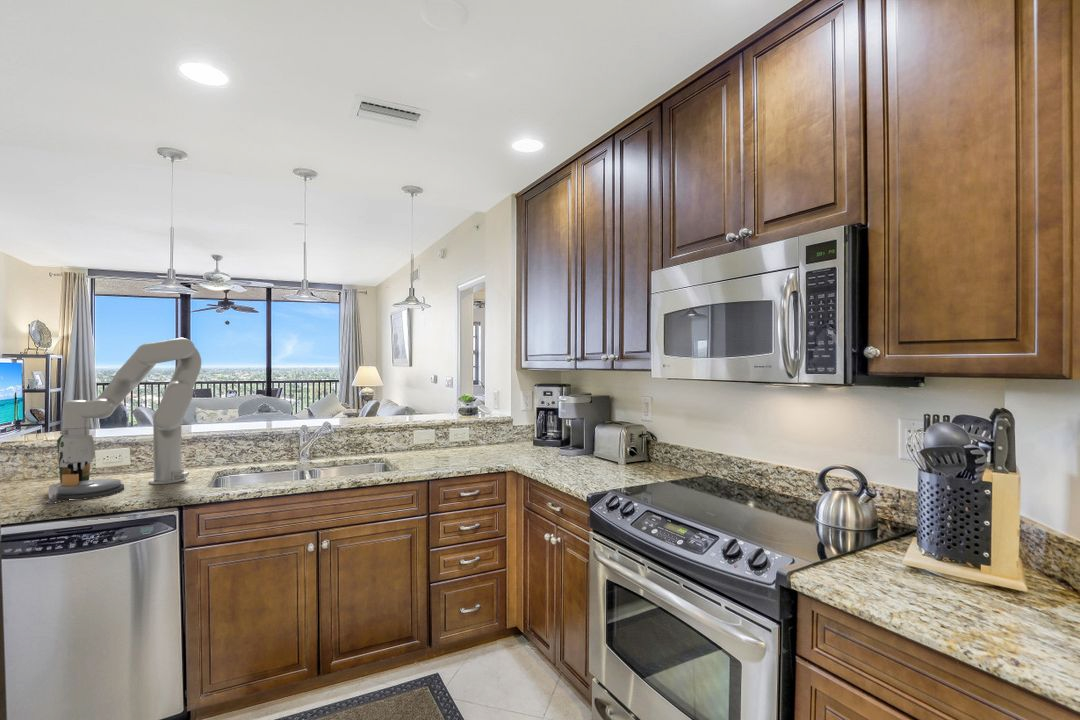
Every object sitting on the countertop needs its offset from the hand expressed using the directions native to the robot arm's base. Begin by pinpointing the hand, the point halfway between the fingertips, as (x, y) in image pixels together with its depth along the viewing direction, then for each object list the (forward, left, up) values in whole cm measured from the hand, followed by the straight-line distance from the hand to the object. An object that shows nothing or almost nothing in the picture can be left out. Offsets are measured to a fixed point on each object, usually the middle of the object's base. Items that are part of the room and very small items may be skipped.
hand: (76, 480), depth 201 cm
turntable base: (-7, +1, -4) cm, 8 cm away
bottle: (+11, -10, -5) cm, 15 cm away
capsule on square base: (-7, +14, -4) cm, 17 cm away
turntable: (-7, +1, -3) cm, 7 cm away
